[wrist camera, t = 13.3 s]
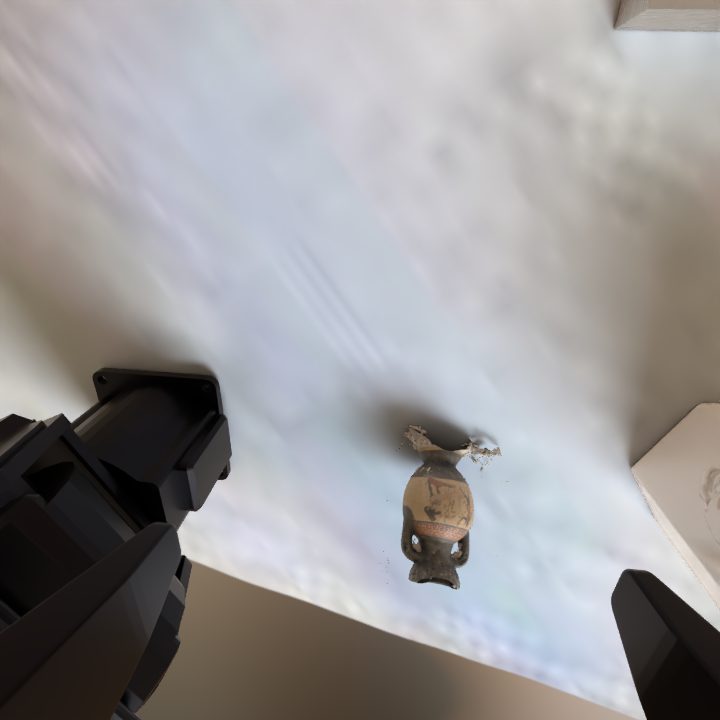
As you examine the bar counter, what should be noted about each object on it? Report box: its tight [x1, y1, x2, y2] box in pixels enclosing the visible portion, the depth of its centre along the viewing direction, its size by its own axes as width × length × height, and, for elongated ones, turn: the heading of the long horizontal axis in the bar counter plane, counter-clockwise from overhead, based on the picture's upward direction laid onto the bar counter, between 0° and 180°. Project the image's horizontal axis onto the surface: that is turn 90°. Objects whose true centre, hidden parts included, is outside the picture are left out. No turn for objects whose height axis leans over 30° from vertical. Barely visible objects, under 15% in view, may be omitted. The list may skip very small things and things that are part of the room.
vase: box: [380, 425, 508, 589], centre depth 20 cm, size 5×5×6 cm
